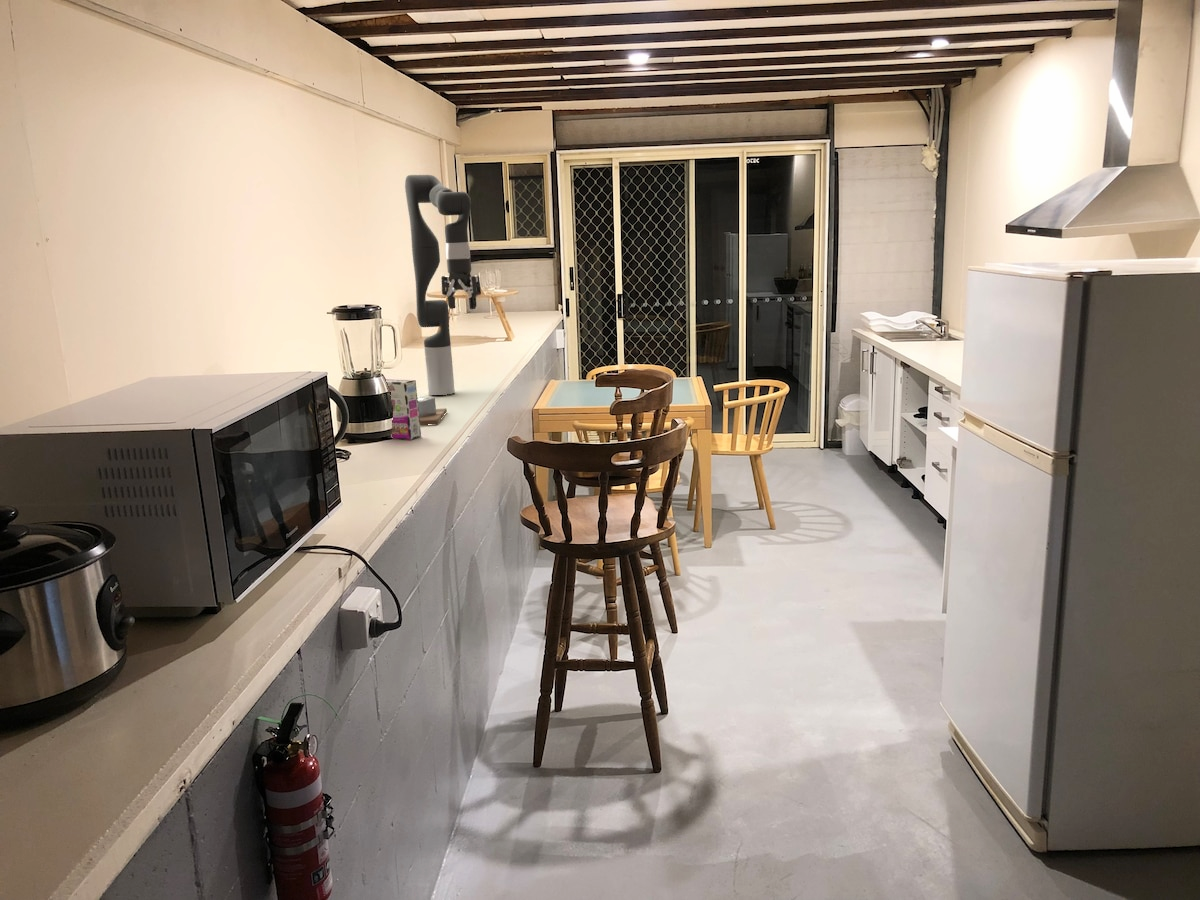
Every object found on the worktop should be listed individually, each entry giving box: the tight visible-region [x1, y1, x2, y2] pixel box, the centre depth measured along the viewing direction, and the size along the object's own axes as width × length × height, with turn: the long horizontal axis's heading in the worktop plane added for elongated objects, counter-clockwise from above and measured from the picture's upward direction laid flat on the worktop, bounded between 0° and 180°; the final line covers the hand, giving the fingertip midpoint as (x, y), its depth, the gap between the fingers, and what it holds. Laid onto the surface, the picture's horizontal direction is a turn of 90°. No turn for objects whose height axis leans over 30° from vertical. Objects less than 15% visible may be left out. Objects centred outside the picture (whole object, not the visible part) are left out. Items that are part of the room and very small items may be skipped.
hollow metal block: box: [417, 396, 437, 417], centre depth 278 cm, size 6×6×5 cm
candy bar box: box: [386, 378, 422, 441], centre depth 254 cm, size 11×5×16 cm, turn 62°
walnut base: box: [419, 407, 447, 426], centre depth 279 cm, size 18×12×2 cm, turn 0°
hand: (462, 308), depth 289 cm, fingers open, 8 cm apart
